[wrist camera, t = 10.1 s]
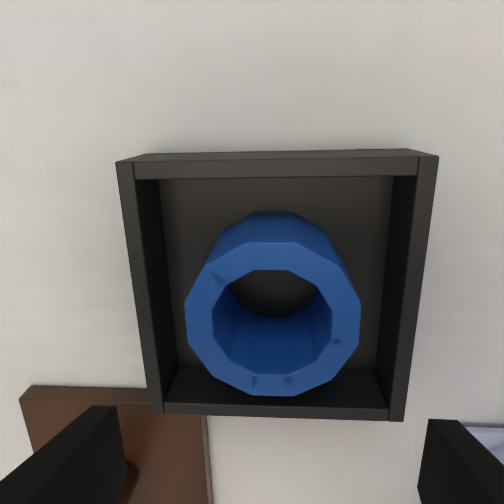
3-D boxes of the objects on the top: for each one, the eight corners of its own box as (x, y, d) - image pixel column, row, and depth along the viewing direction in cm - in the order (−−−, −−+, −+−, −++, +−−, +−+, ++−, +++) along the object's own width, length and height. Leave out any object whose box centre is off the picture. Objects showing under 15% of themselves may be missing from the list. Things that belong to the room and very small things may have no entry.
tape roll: (345, 210, 15) (367, 242, 11) (337, 335, 17) (354, 399, 13) (203, 211, 15) (177, 242, 11) (211, 333, 17) (192, 394, 13)
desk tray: (408, 148, 14) (440, 155, 12) (384, 374, 18) (403, 422, 15) (145, 153, 15) (114, 161, 12) (169, 368, 18) (150, 414, 16)
